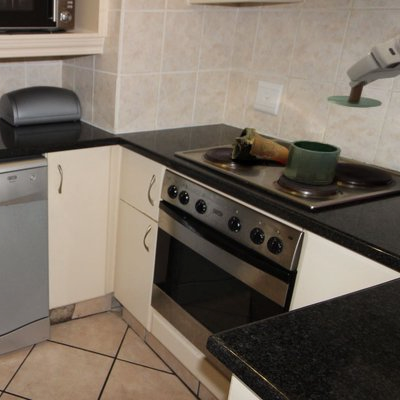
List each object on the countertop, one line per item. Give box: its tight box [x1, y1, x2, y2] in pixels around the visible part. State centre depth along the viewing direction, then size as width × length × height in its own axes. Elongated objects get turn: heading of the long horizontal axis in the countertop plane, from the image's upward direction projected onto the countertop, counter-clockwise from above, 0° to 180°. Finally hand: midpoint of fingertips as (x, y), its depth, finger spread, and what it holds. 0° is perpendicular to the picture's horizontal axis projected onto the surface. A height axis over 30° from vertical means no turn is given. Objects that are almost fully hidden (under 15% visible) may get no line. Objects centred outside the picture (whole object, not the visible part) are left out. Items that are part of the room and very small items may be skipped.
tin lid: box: [326, 81, 383, 109], centre depth 139 cm, size 14×14×8 cm
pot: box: [230, 126, 289, 165], centre depth 151 cm, size 17×11×18 cm
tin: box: [283, 139, 342, 186], centre depth 138 cm, size 13×13×10 cm
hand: (355, 85), depth 138 cm, fingers closed on tin lid, 3 cm apart
